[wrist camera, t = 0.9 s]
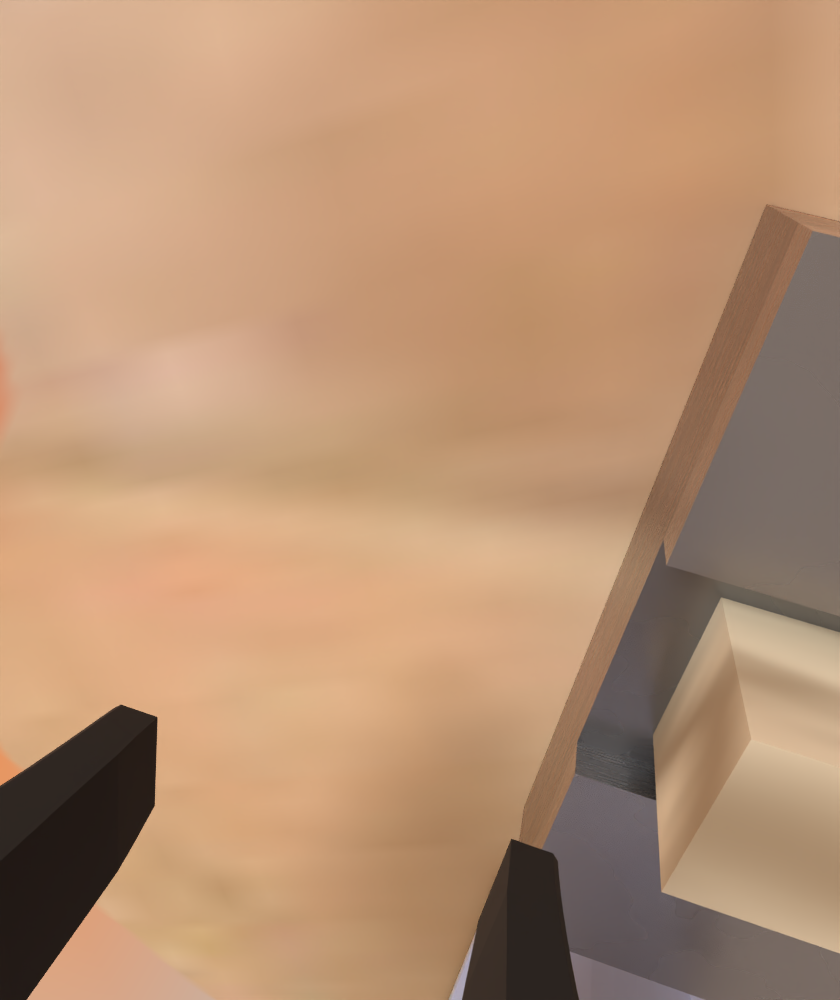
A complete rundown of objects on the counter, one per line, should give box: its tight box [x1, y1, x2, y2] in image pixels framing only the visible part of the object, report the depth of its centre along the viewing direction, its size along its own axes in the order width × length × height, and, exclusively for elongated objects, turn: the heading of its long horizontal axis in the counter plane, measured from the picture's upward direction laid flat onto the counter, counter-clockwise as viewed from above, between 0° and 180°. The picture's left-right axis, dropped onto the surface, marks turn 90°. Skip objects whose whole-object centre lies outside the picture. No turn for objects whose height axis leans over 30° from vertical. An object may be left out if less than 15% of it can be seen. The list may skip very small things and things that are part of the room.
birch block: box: [653, 597, 840, 953], centre depth 14 cm, size 4×4×4 cm
